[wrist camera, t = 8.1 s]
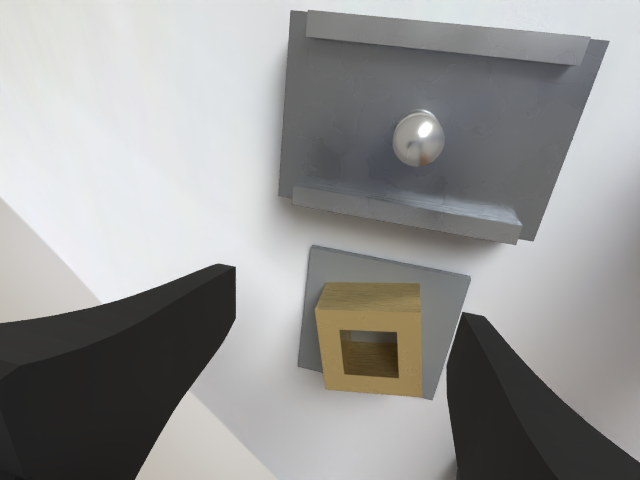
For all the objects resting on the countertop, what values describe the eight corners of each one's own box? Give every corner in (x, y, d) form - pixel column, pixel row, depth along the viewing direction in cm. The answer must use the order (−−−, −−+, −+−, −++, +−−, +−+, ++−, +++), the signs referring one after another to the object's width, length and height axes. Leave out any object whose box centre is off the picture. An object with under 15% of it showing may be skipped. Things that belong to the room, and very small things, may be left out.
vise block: (581, 46, 16) (658, 31, 11) (519, 222, 19) (556, 272, 14) (306, 19, 18) (264, -5, 13) (292, 183, 21) (255, 215, 16)
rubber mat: (470, 276, 21) (471, 279, 20) (432, 395, 24) (432, 400, 24) (312, 245, 22) (310, 247, 22) (299, 362, 26) (297, 366, 26)
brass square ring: (419, 283, 21) (421, 312, 18) (421, 360, 23) (422, 397, 20) (326, 282, 23) (314, 309, 20) (335, 355, 24) (325, 389, 22)
